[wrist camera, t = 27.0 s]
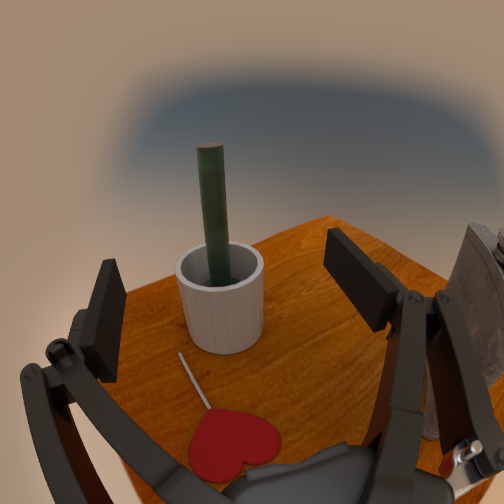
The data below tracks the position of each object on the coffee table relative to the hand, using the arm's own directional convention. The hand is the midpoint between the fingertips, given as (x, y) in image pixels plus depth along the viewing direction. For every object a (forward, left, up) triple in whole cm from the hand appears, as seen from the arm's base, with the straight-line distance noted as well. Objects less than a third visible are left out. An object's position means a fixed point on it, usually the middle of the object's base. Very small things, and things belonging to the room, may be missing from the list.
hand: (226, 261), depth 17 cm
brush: (-4, +9, -15) cm, 18 cm away
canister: (-5, +9, -15) cm, 18 cm away
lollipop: (-2, -2, -16) cm, 16 cm away
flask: (+20, +5, -16) cm, 26 cm away
